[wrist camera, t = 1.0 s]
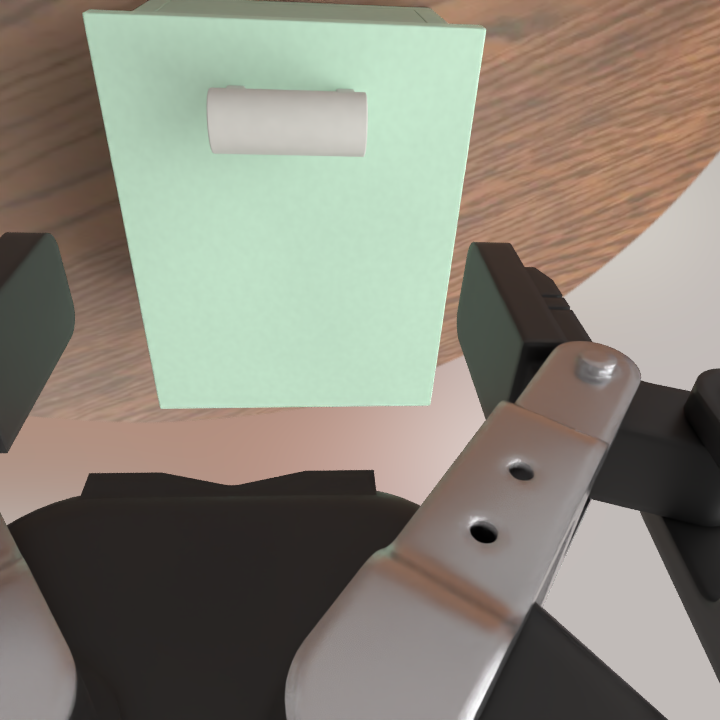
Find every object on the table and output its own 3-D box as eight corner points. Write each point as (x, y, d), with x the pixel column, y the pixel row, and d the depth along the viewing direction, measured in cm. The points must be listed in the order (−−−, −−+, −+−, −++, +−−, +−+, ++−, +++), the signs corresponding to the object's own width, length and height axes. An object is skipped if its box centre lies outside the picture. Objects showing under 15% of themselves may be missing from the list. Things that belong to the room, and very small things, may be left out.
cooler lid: (87, 9, 21) (35, 35, 17) (481, 24, 23) (521, 52, 18) (162, 399, 32) (141, 473, 28) (427, 396, 33) (445, 467, 29)
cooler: (154, -5, 31) (93, 34, 22) (430, 7, 32) (477, 48, 23) (193, 291, 41) (163, 398, 32) (402, 292, 42) (427, 395, 33)
